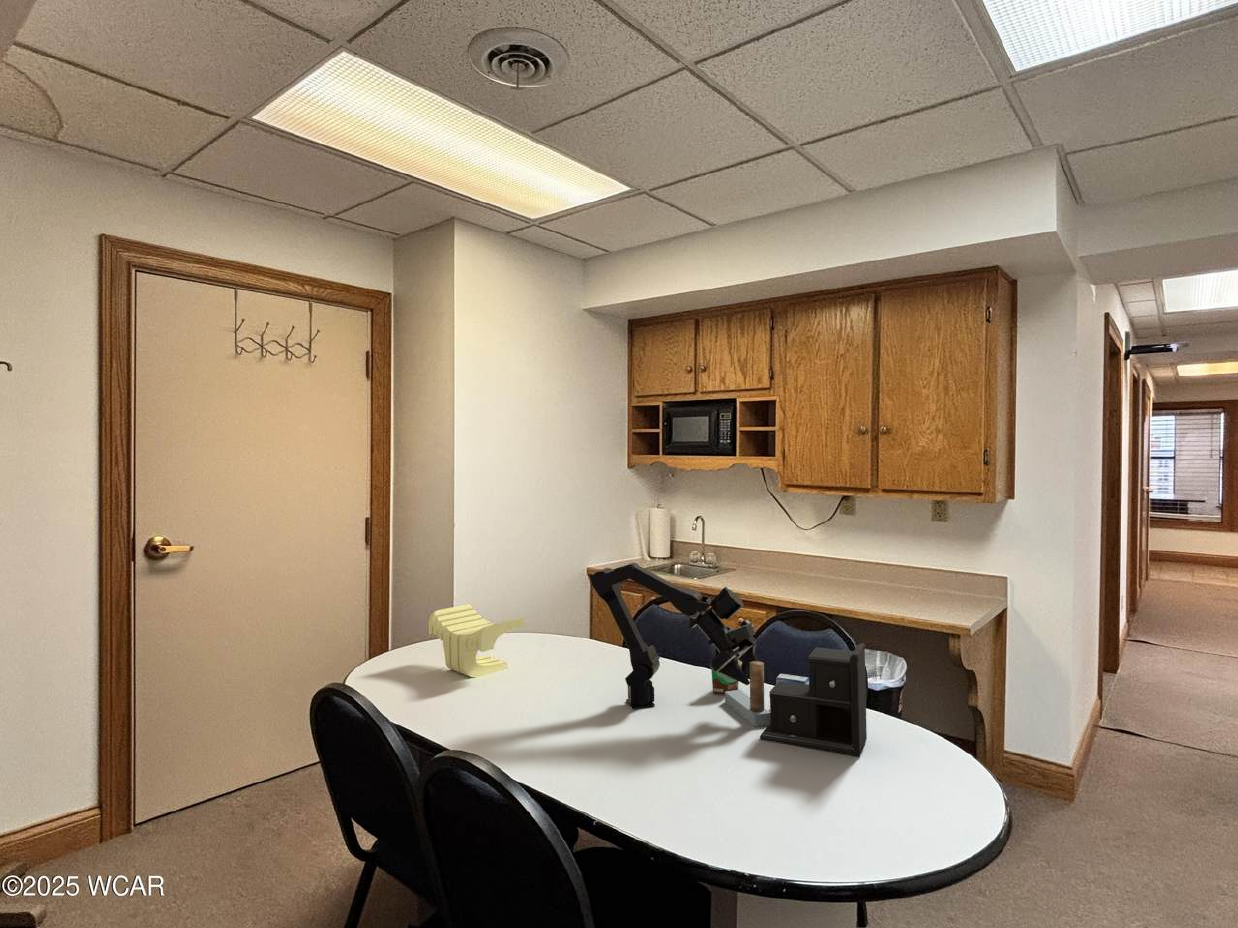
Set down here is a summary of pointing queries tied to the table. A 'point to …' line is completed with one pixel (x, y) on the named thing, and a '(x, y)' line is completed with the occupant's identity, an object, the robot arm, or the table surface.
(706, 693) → the table surface
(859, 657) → the black desk organizer
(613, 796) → the table surface
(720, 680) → the food container
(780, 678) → the medicine box
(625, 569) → the robot arm
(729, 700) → the ridge bar
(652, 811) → the table surface
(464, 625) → the slatted curved stool
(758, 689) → the walnut dowel
